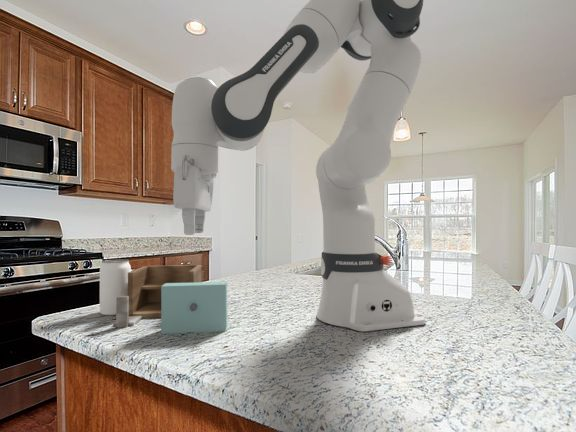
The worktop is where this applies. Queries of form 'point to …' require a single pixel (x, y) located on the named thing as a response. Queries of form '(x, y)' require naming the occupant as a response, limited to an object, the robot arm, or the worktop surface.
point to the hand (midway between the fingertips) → (194, 233)
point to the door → (193, 307)
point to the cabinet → (151, 291)
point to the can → (113, 284)
